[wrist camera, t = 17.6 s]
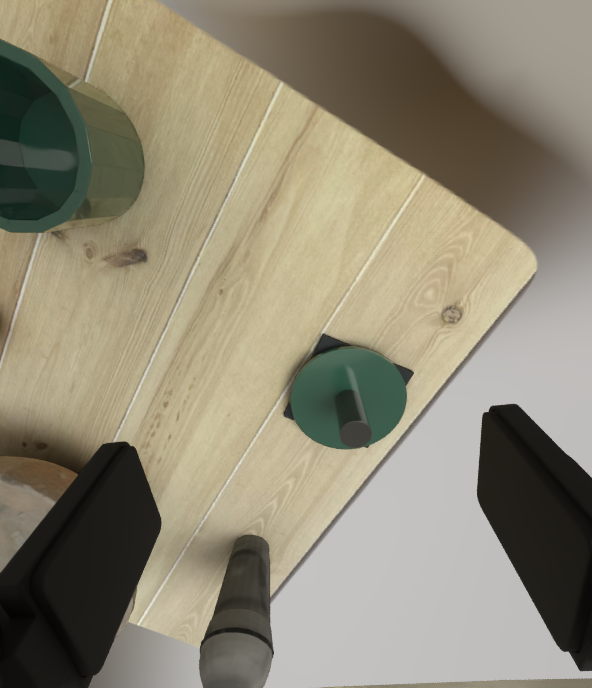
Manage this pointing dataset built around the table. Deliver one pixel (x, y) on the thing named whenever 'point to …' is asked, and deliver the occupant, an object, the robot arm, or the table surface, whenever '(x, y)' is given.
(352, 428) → the lid
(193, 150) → the table surface
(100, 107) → the pot
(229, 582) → the beverage cup
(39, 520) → the bowl
